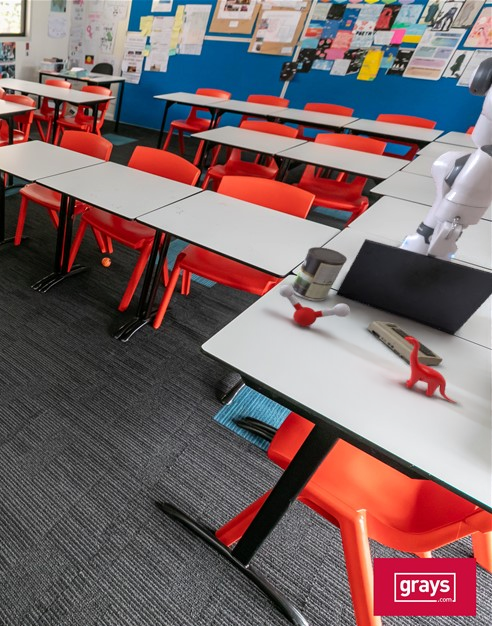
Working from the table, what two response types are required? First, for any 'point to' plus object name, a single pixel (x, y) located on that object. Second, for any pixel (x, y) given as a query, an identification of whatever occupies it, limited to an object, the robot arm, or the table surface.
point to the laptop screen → (417, 284)
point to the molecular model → (306, 314)
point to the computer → (402, 342)
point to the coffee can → (318, 273)
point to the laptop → (397, 313)
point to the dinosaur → (424, 373)
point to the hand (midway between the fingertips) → (428, 259)
